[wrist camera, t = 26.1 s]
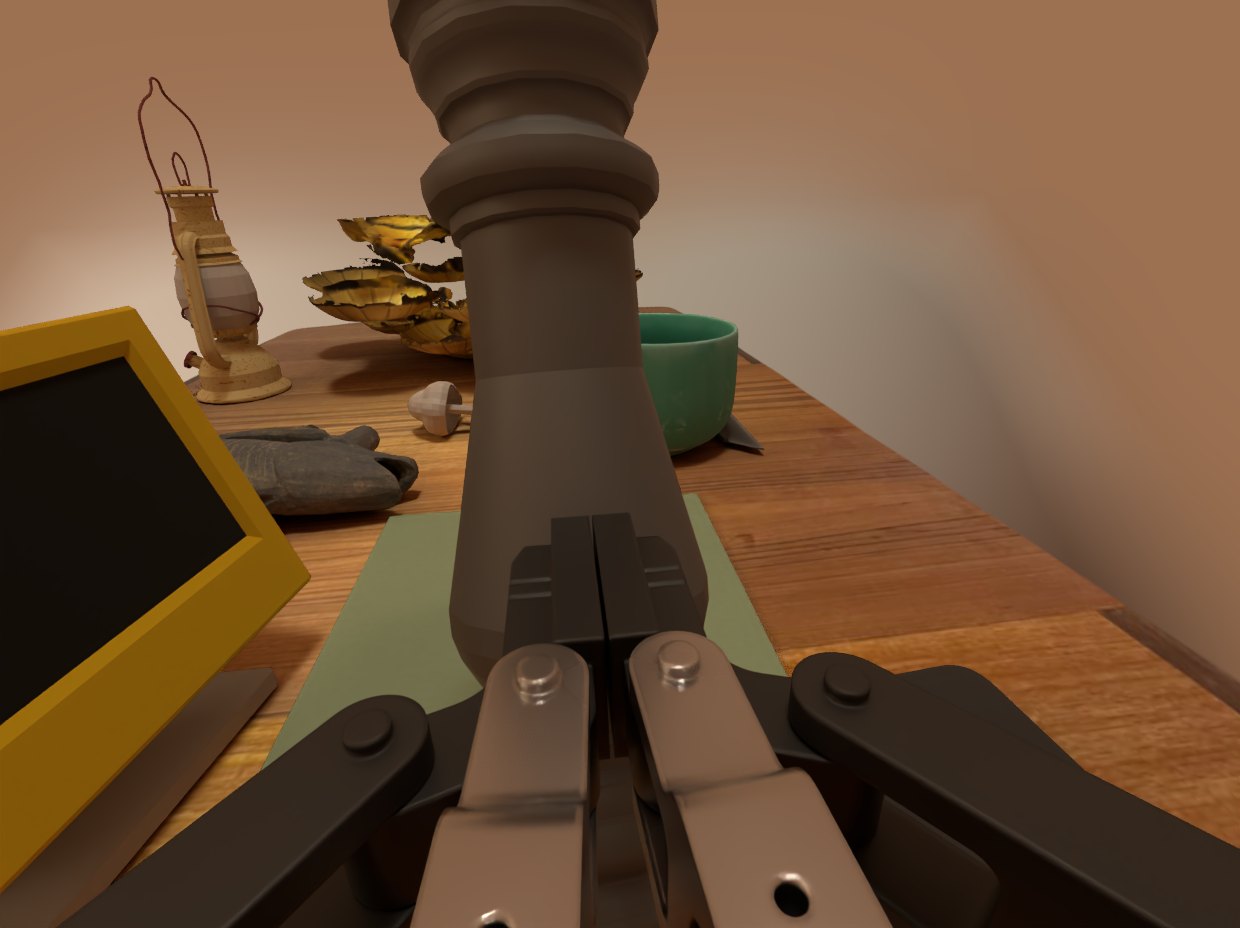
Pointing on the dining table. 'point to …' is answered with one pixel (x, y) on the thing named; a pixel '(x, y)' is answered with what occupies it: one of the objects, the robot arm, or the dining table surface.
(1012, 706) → the phone
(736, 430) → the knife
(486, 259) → the candle holder
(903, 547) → the dining table surface
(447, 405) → the mushroom
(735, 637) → the mat
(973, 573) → the dining table surface
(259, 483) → the ceramic vessel
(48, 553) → the yellow framed monitor
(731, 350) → the mug
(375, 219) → the mushroom
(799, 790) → the robot arm
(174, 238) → the lantern
